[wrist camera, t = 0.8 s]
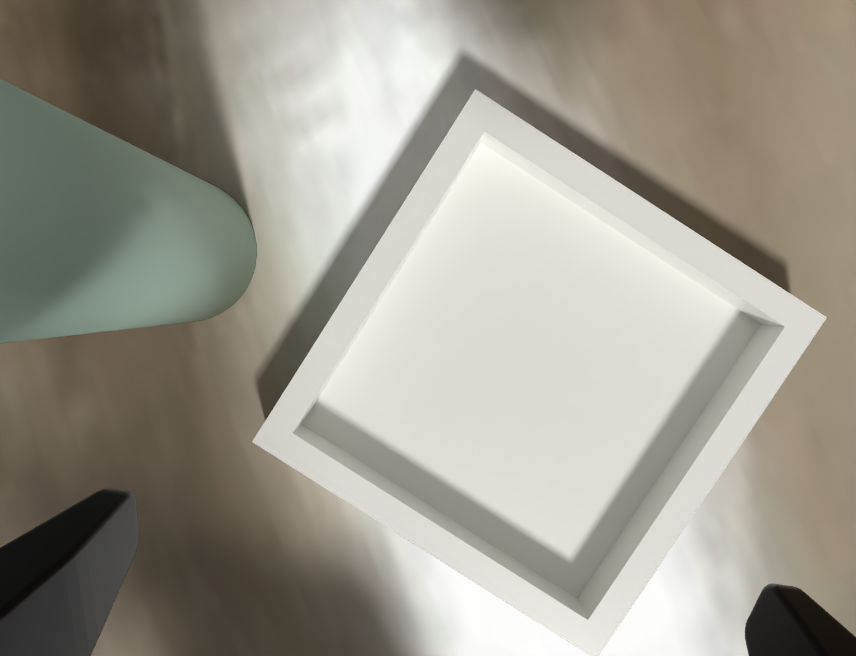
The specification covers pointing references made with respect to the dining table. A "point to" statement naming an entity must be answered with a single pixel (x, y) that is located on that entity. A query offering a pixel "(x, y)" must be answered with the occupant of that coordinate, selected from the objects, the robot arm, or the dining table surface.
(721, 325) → the tray
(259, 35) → the dining table surface
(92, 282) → the grey-green post
